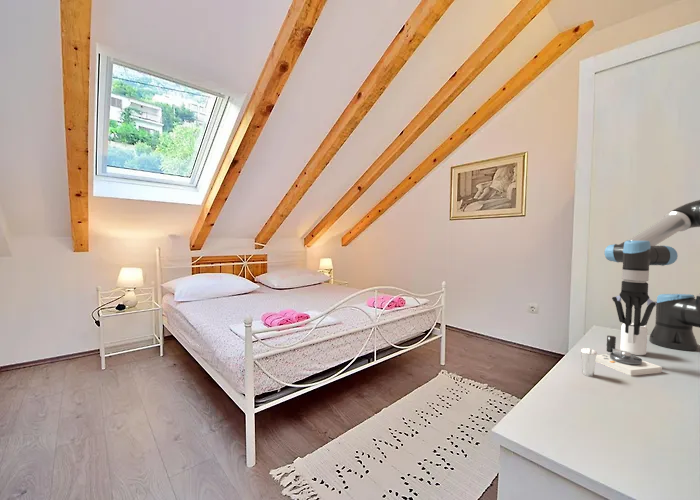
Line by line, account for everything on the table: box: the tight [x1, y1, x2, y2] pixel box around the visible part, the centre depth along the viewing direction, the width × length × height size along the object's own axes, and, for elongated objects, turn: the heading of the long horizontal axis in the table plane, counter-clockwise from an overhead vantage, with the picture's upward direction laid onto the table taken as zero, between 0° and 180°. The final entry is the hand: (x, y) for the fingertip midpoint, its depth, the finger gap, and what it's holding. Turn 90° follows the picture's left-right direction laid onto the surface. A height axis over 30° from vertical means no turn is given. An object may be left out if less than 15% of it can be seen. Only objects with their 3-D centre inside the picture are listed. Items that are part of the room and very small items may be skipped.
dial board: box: [596, 352, 663, 377], centre depth 118 cm, size 14×14×2 cm
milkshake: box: [580, 347, 598, 377], centre depth 110 cm, size 4×5×10 cm
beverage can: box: [619, 321, 648, 356], centre depth 132 cm, size 8×8×12 cm
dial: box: [606, 335, 643, 365], centre depth 119 cm, size 11×9×7 cm
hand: (631, 342), depth 121 cm, fingers closed
